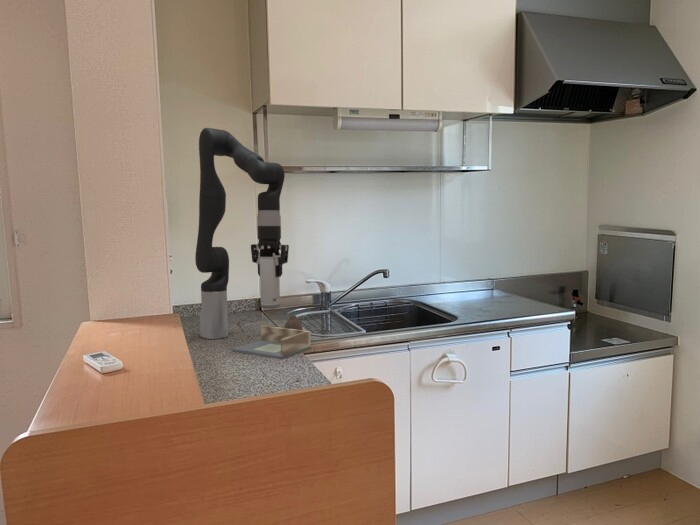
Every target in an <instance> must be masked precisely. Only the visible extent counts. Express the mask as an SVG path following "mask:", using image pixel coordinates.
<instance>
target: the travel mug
mask: <svg viewBox="0 0 700 525" xmlns="http://www.w3.org/2000/svg"><path fill="white" fill-rule="evenodd" d="M259 252H260V276H259V287H260V288H259V290H260V291H259V292H260V293H259V294H260V296H259V297H260V308H261V309H264V310H265V309H266V310H268V309H269V310H273V309H279V308H280V307H281V302H280V301H281V299H280V298H281V295H280V293H281V287H280V286H281V285H280V284H281V283H280V279H281V278H280V277H276V273H275V266H276V264H275V259H273V253H275V255H276V256H277V255H279V254H278V253H279V252H280V250H279V251H278V250H277V251H276V252H275V248H268V249H259ZM278 261H279V259H278Z"/></svg>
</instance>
